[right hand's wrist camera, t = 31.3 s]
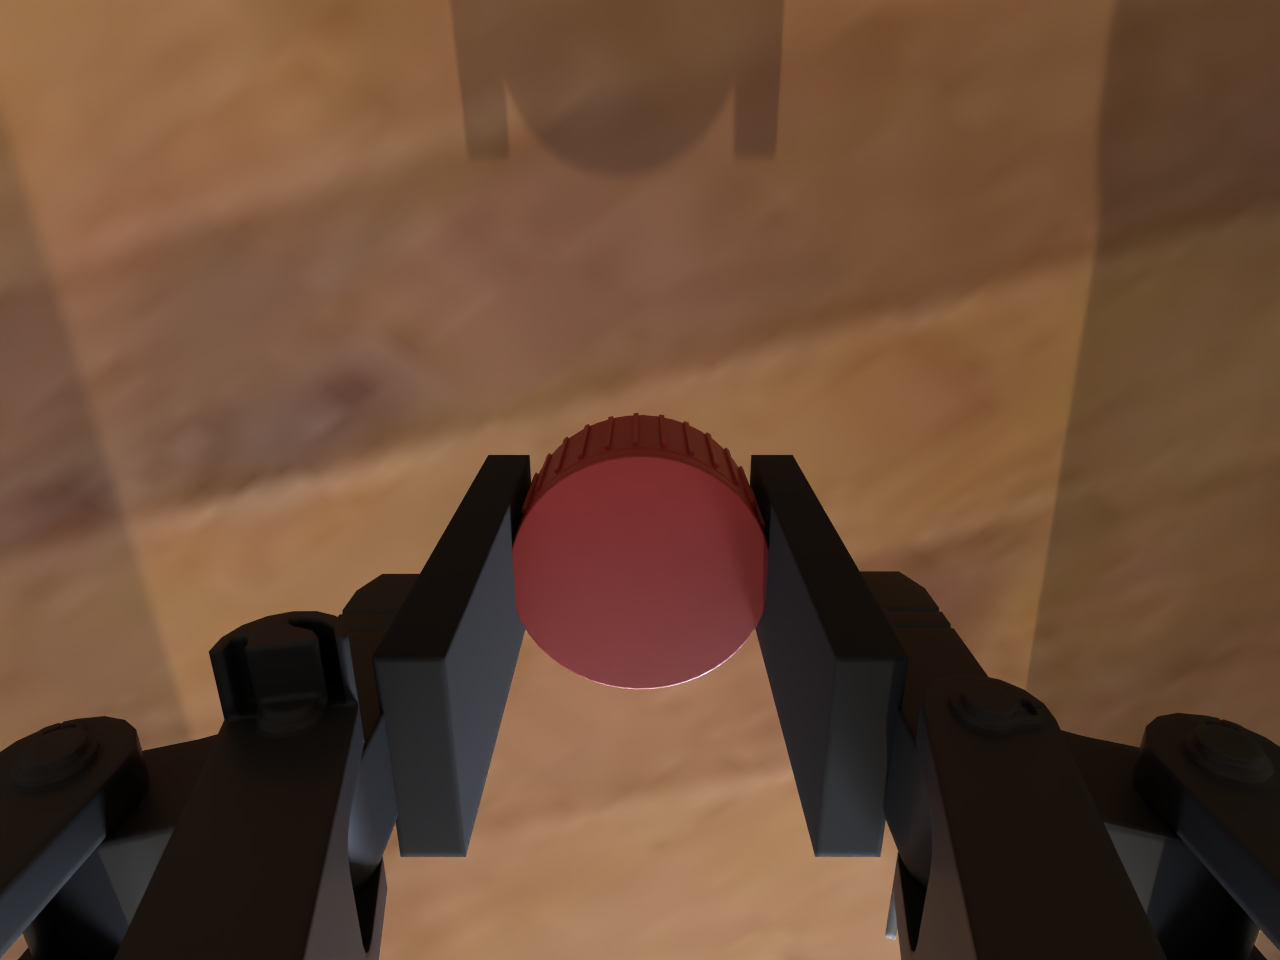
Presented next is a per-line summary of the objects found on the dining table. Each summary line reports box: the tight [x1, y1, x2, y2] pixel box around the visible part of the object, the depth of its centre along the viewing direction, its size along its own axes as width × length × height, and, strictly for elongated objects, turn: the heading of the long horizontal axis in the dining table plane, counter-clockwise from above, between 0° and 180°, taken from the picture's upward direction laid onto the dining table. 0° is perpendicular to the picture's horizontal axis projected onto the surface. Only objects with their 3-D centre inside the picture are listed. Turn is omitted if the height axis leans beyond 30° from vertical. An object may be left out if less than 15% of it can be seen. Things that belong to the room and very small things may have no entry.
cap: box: [512, 413, 769, 689], centre depth 13 cm, size 4×4×2 cm
